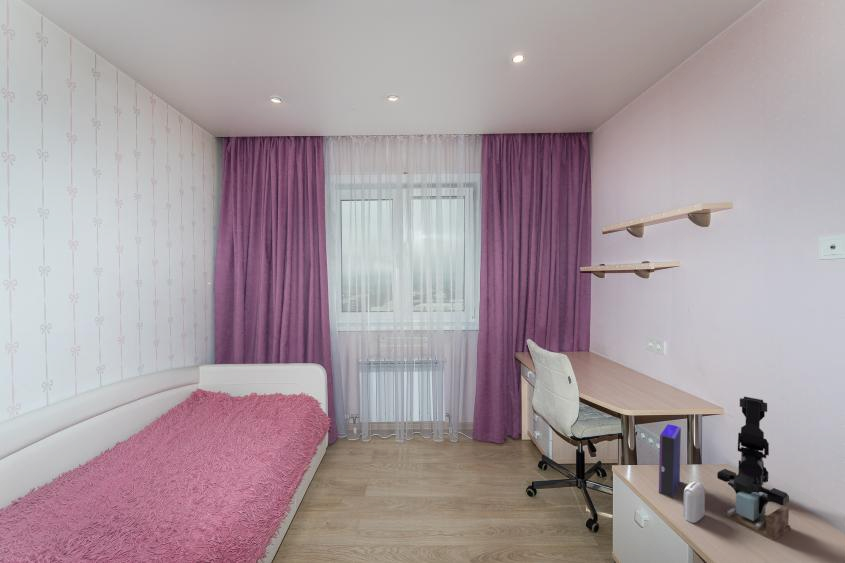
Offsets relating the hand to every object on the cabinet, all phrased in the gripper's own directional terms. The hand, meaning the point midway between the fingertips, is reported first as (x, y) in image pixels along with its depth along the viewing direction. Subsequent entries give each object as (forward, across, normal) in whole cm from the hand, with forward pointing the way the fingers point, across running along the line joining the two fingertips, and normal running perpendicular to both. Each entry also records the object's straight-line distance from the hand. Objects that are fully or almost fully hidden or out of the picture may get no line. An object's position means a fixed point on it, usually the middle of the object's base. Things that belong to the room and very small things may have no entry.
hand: (750, 508), depth 128 cm
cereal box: (+4, -25, -5) cm, 26 cm away
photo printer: (+4, -10, -18) cm, 21 cm away
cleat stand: (+4, +2, 0) cm, 4 cm away
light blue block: (+2, 0, 0) cm, 2 cm away
